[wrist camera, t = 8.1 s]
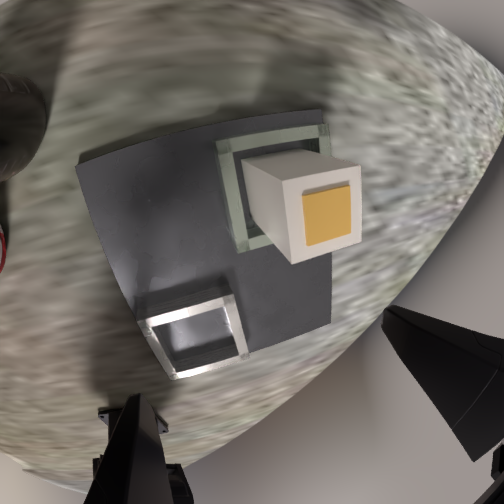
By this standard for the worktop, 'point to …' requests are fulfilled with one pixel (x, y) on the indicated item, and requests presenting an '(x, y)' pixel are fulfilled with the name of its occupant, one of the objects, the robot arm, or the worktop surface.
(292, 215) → the plug
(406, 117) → the worktop surface
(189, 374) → the panel
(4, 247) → the soda can
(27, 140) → the supplement bottle
